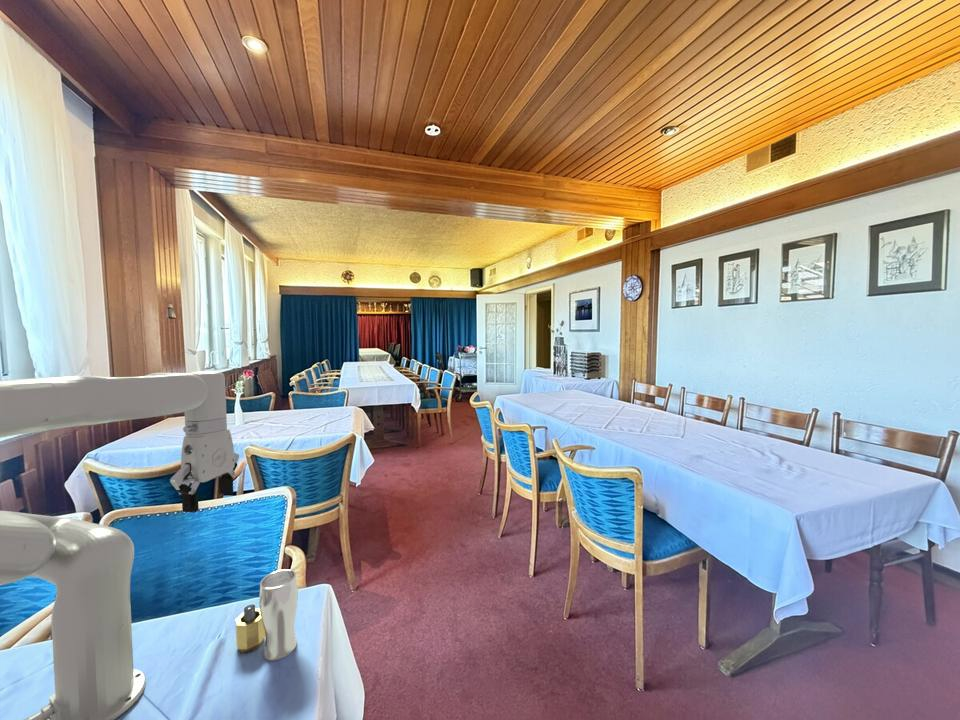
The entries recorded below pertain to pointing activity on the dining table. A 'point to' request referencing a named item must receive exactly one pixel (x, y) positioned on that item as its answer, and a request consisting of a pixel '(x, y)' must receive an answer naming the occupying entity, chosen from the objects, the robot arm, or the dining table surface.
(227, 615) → the dining table surface
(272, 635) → the silver metal vase
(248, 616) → the stand
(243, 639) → the brass ring
